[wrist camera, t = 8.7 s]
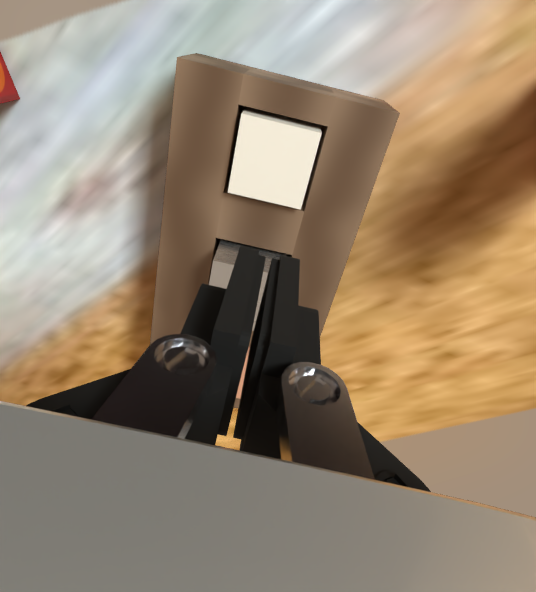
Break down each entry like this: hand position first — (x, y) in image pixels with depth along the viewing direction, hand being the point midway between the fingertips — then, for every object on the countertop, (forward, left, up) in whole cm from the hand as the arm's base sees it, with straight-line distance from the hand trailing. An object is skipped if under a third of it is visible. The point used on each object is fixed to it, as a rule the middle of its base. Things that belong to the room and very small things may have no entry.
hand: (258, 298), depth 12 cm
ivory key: (0, 0, -18) cm, 18 cm away
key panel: (0, +8, -20) cm, 21 cm away
